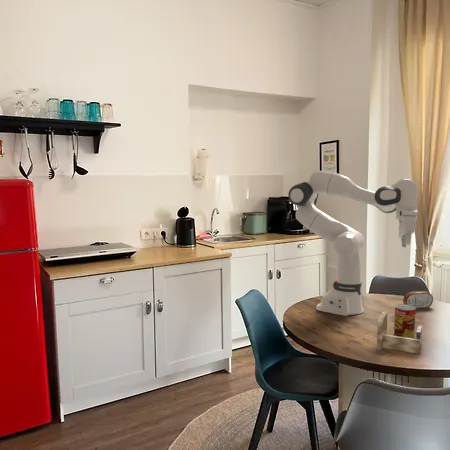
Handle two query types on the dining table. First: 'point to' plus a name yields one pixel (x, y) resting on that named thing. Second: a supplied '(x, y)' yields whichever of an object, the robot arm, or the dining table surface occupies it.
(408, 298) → the tin
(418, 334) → the bookend
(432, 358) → the dining table surface
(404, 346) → the shelf wall
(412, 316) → the canned food
